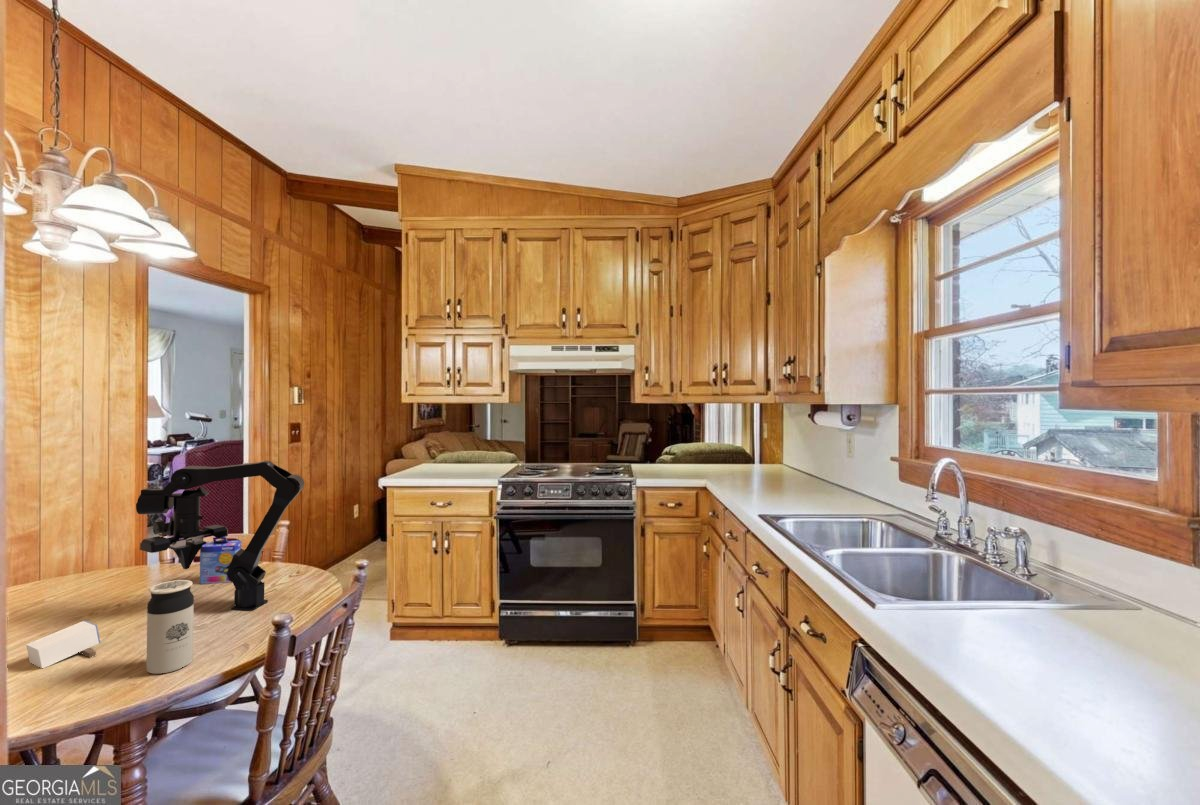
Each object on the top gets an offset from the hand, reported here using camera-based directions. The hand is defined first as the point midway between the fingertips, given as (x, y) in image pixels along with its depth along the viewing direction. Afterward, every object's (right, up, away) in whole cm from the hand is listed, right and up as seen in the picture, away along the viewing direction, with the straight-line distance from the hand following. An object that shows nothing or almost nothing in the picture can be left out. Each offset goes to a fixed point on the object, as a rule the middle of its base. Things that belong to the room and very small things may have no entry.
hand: (185, 568), depth 142 cm
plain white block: (-6, -8, -20) cm, 22 cm away
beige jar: (+18, -13, -27) cm, 35 cm away
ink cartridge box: (-8, -12, +24) cm, 28 cm away
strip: (-7, -12, -22) cm, 26 cm away
